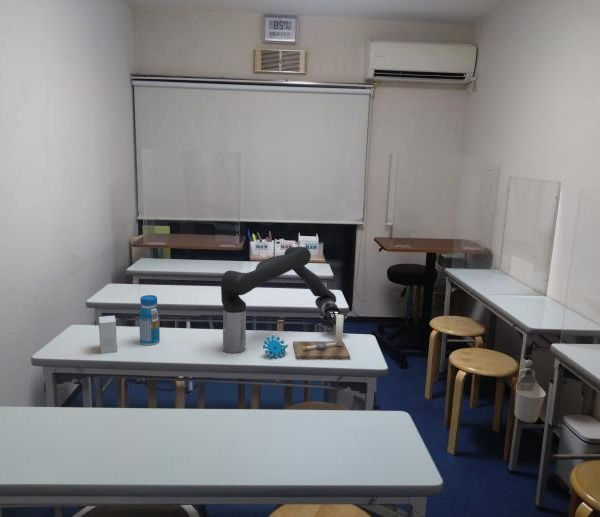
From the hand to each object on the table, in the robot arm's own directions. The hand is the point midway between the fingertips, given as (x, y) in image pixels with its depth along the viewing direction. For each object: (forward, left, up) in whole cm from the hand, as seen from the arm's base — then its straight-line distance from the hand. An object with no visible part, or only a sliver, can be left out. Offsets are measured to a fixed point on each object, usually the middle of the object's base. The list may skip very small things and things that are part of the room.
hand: (336, 322), depth 224 cm
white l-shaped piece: (-7, -11, -7) cm, 15 cm away
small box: (-95, -8, -9) cm, 96 cm away
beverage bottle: (-80, 0, -9) cm, 81 cm away
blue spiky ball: (-27, -15, -9) cm, 32 cm away
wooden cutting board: (-8, -11, -9) cm, 16 cm away
